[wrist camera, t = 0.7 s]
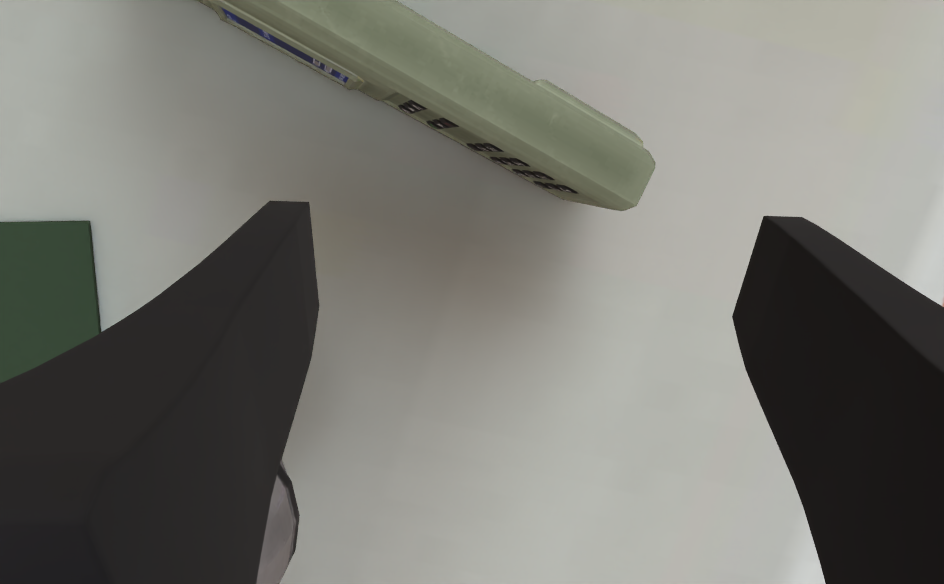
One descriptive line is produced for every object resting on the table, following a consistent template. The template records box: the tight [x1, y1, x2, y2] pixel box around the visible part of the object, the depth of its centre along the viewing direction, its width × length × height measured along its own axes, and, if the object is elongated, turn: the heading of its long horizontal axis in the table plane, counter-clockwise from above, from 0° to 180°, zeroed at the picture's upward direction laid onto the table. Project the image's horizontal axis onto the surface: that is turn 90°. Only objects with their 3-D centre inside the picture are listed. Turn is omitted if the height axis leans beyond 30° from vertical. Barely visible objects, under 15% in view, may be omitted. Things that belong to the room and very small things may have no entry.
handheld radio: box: [197, 0, 655, 211], centre depth 28 cm, size 7×3×25 cm
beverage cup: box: [256, 459, 300, 584], centre depth 24 cm, size 7×7×20 cm
